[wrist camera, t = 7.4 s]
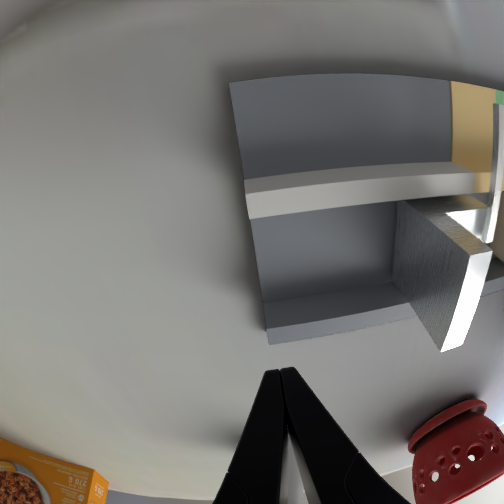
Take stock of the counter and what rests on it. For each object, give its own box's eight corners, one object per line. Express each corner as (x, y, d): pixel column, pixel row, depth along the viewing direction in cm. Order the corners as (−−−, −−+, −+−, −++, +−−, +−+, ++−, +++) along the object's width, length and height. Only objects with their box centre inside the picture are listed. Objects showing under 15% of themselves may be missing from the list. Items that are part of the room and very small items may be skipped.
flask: (253, 428, 24) (259, 528, 16) (325, 429, 26) (344, 519, 17) (238, 456, 28) (241, 537, 19) (300, 457, 29) (311, 532, 20)
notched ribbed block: (464, 98, 11) (552, 117, 6) (450, 265, 15) (505, 326, 10) (395, 91, 11) (484, 102, 6) (391, 277, 15) (440, 352, 10)
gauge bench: (548, 105, 11) (609, 125, 6) (522, 273, 18) (564, 315, 13) (229, 84, 12) (223, 72, 6) (267, 333, 18) (278, 416, 13)
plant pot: (423, 405, 25) (459, 497, 15) (498, 380, 26) (536, 448, 16) (382, 455, 32) (402, 527, 21) (453, 433, 32) (478, 492, 22)
